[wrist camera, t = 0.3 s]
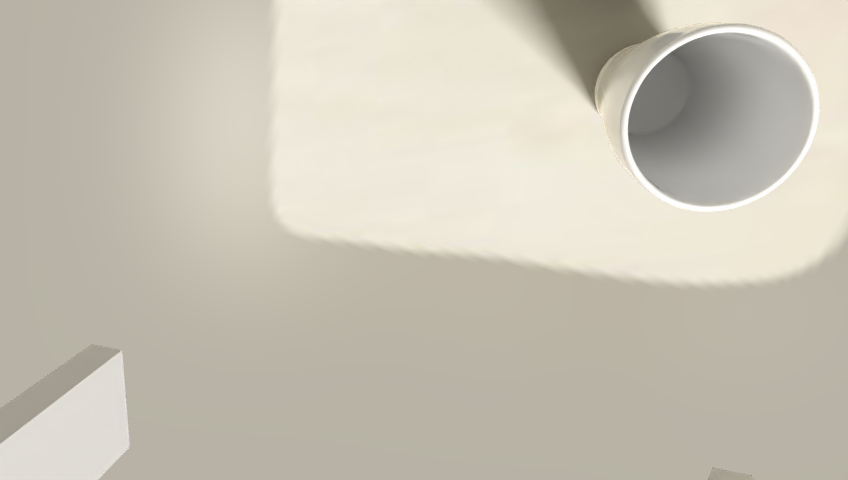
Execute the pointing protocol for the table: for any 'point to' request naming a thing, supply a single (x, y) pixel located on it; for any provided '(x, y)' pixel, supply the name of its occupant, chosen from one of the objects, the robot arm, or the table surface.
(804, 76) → the white cup
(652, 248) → the table surface
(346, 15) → the table surface
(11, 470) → the robot arm
